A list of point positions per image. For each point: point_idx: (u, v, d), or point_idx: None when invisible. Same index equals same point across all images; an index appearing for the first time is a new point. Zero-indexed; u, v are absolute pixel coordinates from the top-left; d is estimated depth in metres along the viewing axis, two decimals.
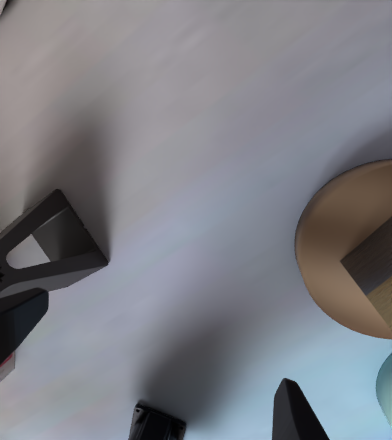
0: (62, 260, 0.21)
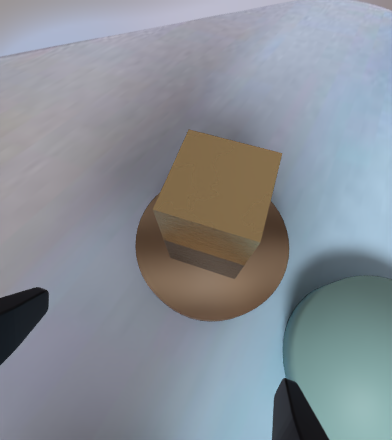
0: None
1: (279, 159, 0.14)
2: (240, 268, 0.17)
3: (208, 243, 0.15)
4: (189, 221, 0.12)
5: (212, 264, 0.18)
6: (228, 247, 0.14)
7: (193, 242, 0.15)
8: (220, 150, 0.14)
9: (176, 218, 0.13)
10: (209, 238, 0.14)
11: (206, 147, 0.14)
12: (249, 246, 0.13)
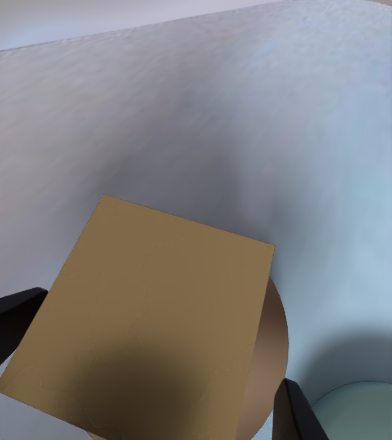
0: None
1: (269, 259, 0.07)
2: None
3: None
4: (70, 422, 0.06)
5: None
6: None
7: None
8: (157, 239, 0.07)
9: (45, 408, 0.06)
10: None
11: (131, 232, 0.07)
12: None
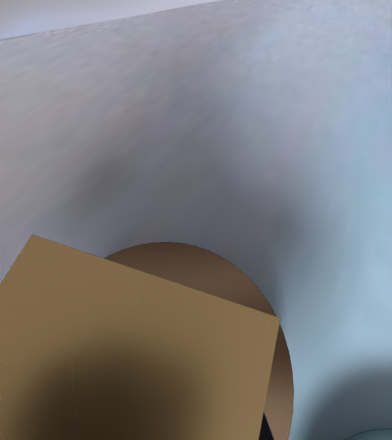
0: None
1: (272, 342, 0.05)
2: None
3: None
4: None
5: None
6: None
7: None
8: (103, 307, 0.05)
9: None
10: None
11: (65, 296, 0.05)
12: None
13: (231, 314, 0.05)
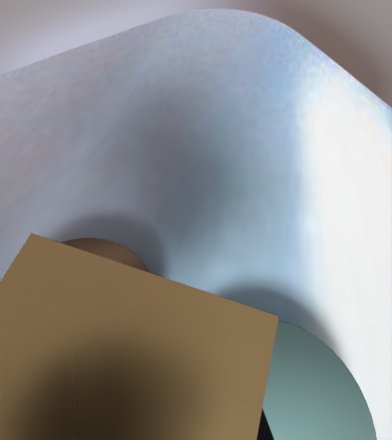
0: None
1: (270, 340, 0.05)
2: None
3: None
4: None
5: None
6: None
7: None
8: (102, 305, 0.05)
9: None
10: None
11: (64, 295, 0.05)
12: None
13: (230, 312, 0.05)
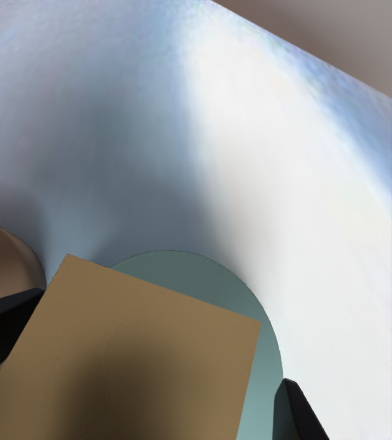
0: None
1: (254, 340, 0.06)
2: None
3: None
4: None
5: None
6: None
7: None
8: (124, 312, 0.06)
9: None
10: None
11: (95, 303, 0.06)
12: None
13: (223, 318, 0.06)
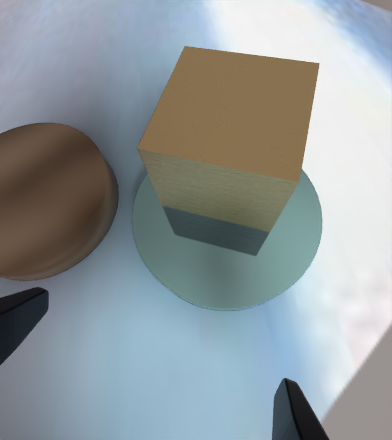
0: None
1: (316, 71, 0.10)
2: (264, 238, 0.13)
3: (220, 200, 0.11)
4: (190, 161, 0.09)
5: (227, 237, 0.14)
6: (249, 202, 0.10)
7: (199, 203, 0.11)
8: (230, 67, 0.10)
9: (171, 158, 0.09)
10: (221, 190, 0.10)
11: (210, 65, 0.10)
12: (280, 195, 0.09)
13: (294, 63, 0.10)
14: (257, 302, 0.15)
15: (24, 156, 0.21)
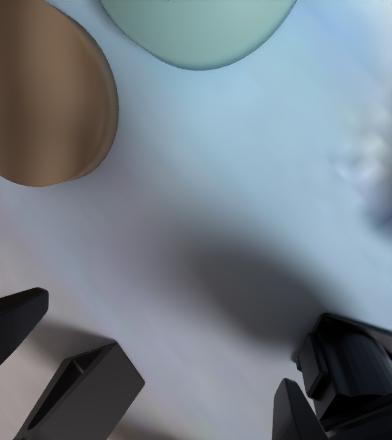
0: (73, 384, 0.25)
1: None
2: None
3: None
4: None
5: None
6: None
7: None
8: None
9: None
10: None
11: None
12: None
13: None
14: None
15: None
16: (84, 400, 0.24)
